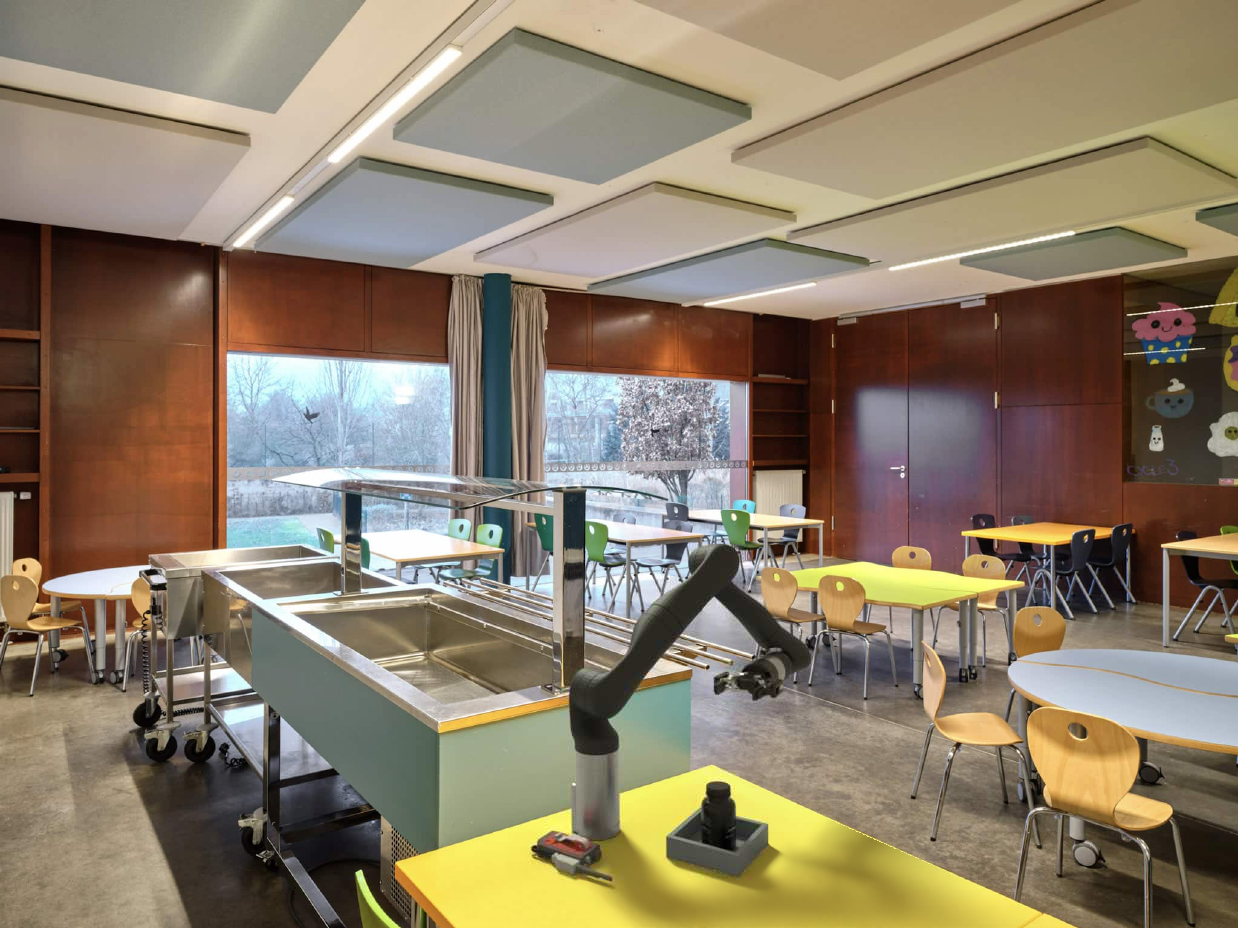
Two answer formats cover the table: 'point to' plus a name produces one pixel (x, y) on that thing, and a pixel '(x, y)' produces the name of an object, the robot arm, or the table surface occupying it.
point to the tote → (690, 849)
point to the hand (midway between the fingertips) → (734, 692)
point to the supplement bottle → (718, 816)
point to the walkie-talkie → (570, 853)
